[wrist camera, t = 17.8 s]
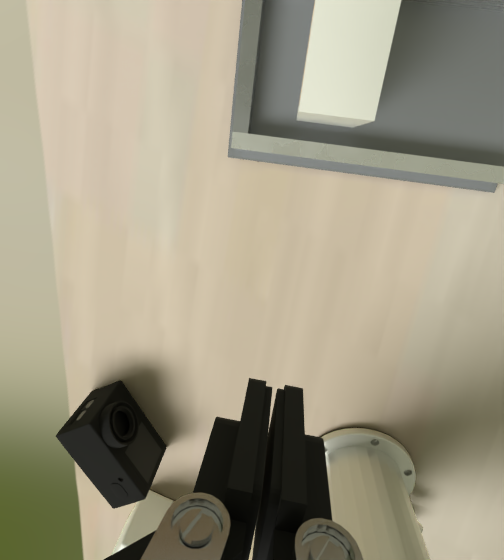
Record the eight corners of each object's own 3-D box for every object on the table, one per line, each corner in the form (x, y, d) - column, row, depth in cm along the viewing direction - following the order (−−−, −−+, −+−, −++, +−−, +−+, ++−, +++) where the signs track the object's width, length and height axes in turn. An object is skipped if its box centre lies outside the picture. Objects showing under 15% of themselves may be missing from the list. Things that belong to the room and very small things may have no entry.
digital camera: (176, 444, 43) (156, 498, 36) (139, 457, 44) (112, 510, 38) (129, 375, 40) (98, 420, 34) (91, 391, 41) (54, 437, 35)
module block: (373, 23, 26) (407, -25, 19) (352, 127, 29) (374, 120, 21) (311, 16, 27) (320, -34, 19) (296, 120, 29) (298, 111, 22)
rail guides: (556, -4, 25) (577, -17, 23) (491, 181, 29) (505, 184, 27) (252, -37, 26) (250, -51, 24) (234, 147, 30) (230, 147, 28)
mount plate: (562, -14, 25) (568, -18, 24) (490, 191, 30) (494, 192, 29) (248, -47, 26) (247, -51, 26) (228, 156, 31) (227, 157, 31)
